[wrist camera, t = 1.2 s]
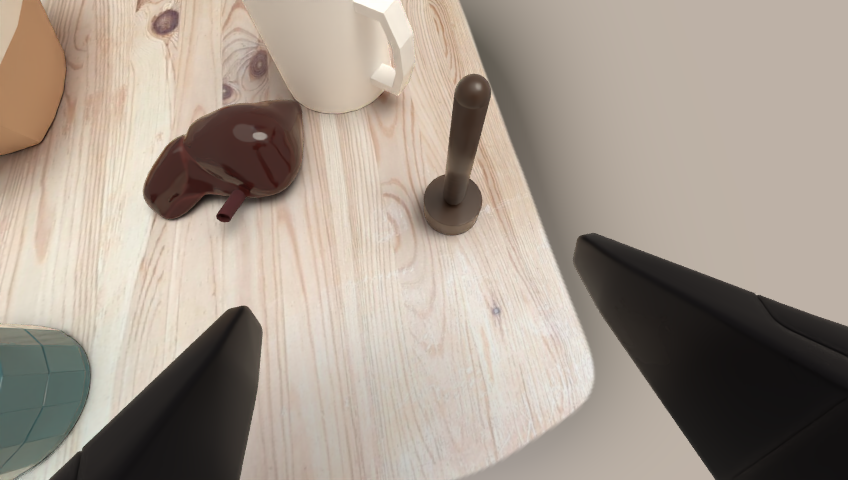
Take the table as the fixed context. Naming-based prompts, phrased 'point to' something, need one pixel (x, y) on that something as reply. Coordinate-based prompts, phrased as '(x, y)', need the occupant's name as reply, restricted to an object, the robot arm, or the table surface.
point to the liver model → (228, 158)
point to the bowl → (28, 74)
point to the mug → (336, 49)
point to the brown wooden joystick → (460, 162)
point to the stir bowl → (38, 393)
